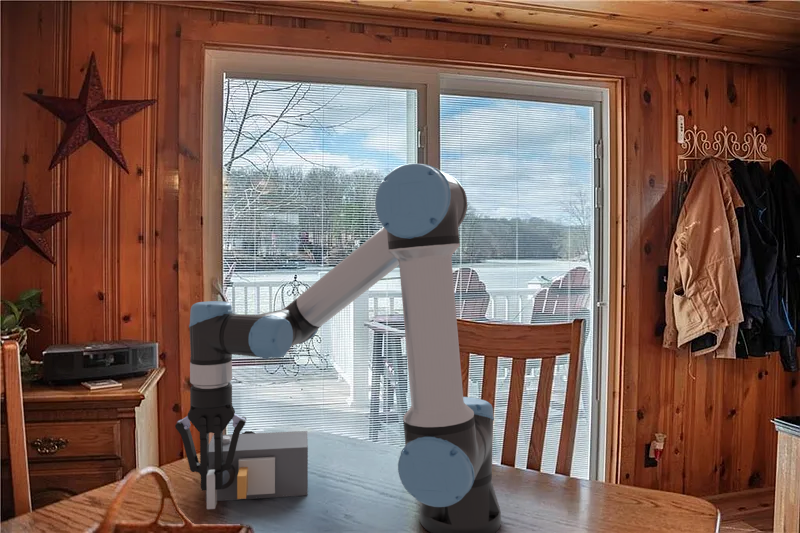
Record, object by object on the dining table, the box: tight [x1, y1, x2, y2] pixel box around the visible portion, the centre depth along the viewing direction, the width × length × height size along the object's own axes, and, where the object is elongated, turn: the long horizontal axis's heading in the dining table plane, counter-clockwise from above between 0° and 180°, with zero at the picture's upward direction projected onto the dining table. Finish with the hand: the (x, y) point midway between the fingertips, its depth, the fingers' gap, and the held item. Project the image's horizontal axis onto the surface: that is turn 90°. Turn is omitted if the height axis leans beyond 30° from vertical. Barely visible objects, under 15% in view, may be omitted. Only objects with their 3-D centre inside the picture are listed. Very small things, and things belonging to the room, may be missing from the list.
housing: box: [205, 430, 309, 503], centre depth 120 cm, size 12×20×11 cm, turn 100°
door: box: [237, 457, 275, 500], centre depth 113 cm, size 6×7×7 cm
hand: (211, 505), depth 110 cm, fingers closed
